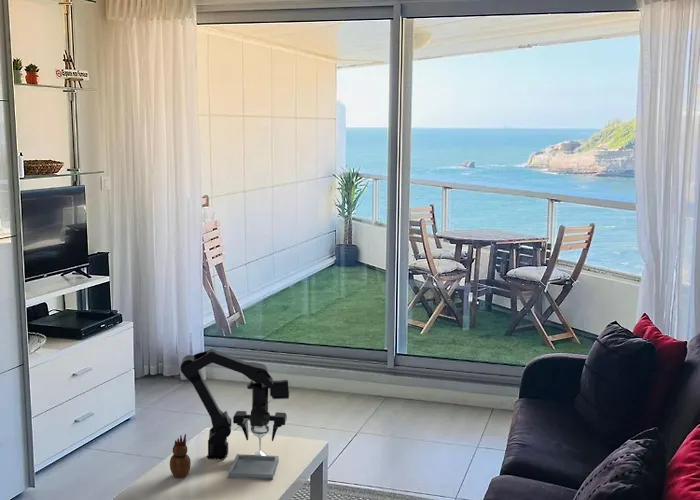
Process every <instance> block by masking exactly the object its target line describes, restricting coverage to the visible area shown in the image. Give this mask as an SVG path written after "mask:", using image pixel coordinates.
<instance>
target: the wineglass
mask: <svg viewBox="0 0 700 500" xmlns="http://www.w3.org/2000/svg"><path fill="white" fill-rule="evenodd" d="M269 424H270V421H269V422H266V423H264V426H262V427H259V426H251V425H250V431H251V433H252V434H253V436H256V437H257V438H258V445H259V446H258V447H259V448H258V449H259V450H258V451H255V452H253V453H254V455H268V453H267V452H266V451H263V450H262V448H261V446H262V438H263V437H266V436H267V435H268V433H269V432H270V425H269Z"/></svg>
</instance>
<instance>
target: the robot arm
mask: <svg viewBox="0 0 700 500" xmlns="http://www.w3.org/2000/svg"><path fill="white" fill-rule="evenodd" d="M210 364H215V365H217V366H221V367H223V368H226V369H228V370H232V371H235V372H237V373H239V374H242V375H243V376H245V377H246V378H248V379H249V380H250V382H248V383H247V384H246V388H247V390H251V391H252V392H251V395H252V396H251V397H252V398H251V402H252V403H251V410H250V414H248V412H247V411H245V410H237V411H235V413H234V415H233V420H232V418H231V417H230V416H229V413H228V411H227V410H225V411H224V412H223V410H221V409H220V408H219V406H218V404H217V402H216V399H215V398H214V396H213V395H212V392H211V391H210V388H209V387H208V385H207V383H206V382H205V379H204V378H203V375H202V371H201V369H203V368H205V367H207V366H208V365H210ZM179 367H180V372H181V374H183V376H184V378H186V380H188V381H189V382H190V383H191V384H192V386H193V388H194V389H195V392H196V393H197V395H198V396H199V399H200V400H201V402H202V405H203V406H204V408H205V409H206V411H207V413H208V415H209V417H210V420H211V426H212V427H211V428H210V429H209V431H208V432H209V435H208V440H207V456H206V459H208V460H226V457H227V456H228V454H229V442H228V440H227V439H228V437H229V436H230V435H231V432H232V424H236V426H238V427H240V428H241V429H242V431H243V434H244V437H245V440H246V441H248V440H249V425H250V427H251V426H259V427H262V426H264V423H266V422H269V423H270V422H273V425H272V434H271V442H274V439H275V436H276V433H277V431H278V429H279V428H282V426H285V425H286V423H287V420H288V418H287V414H286V412H275V414H274V415H271V414H270V412H269V397H271V399H273V400H289V399H290V390H289V380H288V379H282V380H274V378H273V377H272V376H271V374H270V372H269V370H268V367H267V365H266V364H264V363H260V362H255V361H245V360H242V359H240V358H237V357H234V356H232V355H229V354H225V353H223V352H221V351H218V350H216V349H214V348H211V349H207V350H205V351H202V352H201V351H200V352H198V353H195V354H193V355H191V354H188V355H186V356H184V357H183V358H182V360H181V363H180V366H179ZM232 421H233V423H232ZM248 421H249V423H250V424H249V423H248Z"/></svg>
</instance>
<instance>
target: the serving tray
mask: <svg viewBox="0 0 700 500" xmlns="http://www.w3.org/2000/svg"><path fill="white" fill-rule="evenodd" d="M279 459H280V458H279V455H270V454H269V455H268V454H267V455H253V454H243V453H241V454H239V453H237V454H236V456H235V458H234V460H233V462H232V463H231V467H230V469H229V471H228V473H227V474H228V477H227V478H229V479H253V480H273V479H274V476H275V472H276V470H277V467H278V464H279Z"/></svg>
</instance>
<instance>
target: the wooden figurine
mask: <svg viewBox="0 0 700 500" xmlns="http://www.w3.org/2000/svg"><path fill="white" fill-rule="evenodd" d="M172 453H173V454H172V455H171V456H170V459H169V469H170V472H171V474H172V476H173V477H175V478H179V479H182V478H186V477H187V476H188V475H189V473H190V469H191V466H192V465H191V458H190V456H189V454H188V447H187V433H184V436H183V437H182V434H180V437H179V438H177V439H175V441H174V445H173V447H172Z"/></svg>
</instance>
